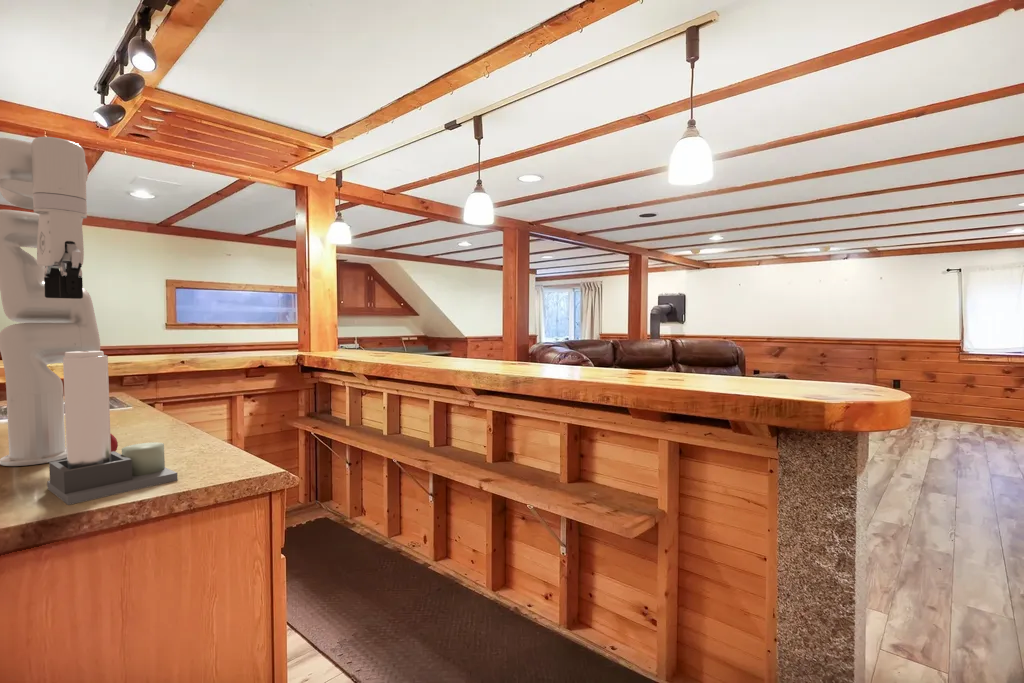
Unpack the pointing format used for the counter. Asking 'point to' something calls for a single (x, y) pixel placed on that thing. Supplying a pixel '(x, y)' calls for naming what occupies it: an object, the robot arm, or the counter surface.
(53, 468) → the grey desk organizer
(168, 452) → the counter surface
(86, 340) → the robot arm
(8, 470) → the counter surface
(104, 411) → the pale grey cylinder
